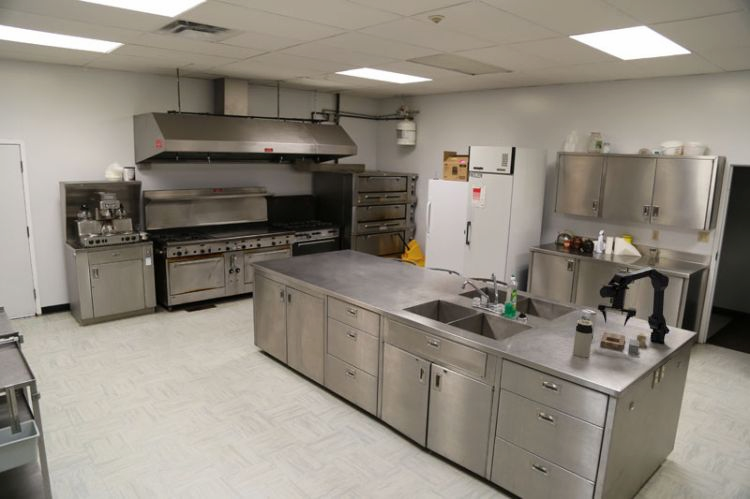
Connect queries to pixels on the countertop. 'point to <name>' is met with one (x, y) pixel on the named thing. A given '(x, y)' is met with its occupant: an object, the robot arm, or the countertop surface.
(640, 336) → the square bit
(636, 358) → the countertop surface
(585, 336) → the travel mug
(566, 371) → the countertop surface
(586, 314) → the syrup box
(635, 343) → the grey rectangular block
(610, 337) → the socket block
